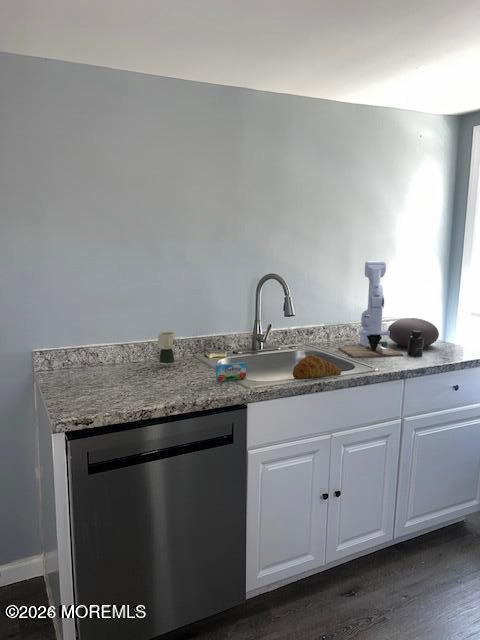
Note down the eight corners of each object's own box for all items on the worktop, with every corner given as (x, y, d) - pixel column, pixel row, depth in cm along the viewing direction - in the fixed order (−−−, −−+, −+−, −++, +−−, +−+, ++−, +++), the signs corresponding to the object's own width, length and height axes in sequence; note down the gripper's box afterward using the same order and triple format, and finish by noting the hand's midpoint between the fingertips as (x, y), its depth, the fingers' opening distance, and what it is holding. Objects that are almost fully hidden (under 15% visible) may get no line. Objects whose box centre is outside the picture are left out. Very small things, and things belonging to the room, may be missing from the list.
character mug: (177, 365, 196) (177, 335, 194) (160, 366, 194) (160, 336, 192) (172, 359, 206) (172, 330, 204) (156, 360, 204) (156, 331, 202)
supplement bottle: (420, 358, 217) (422, 333, 215) (405, 356, 221) (407, 331, 219) (424, 355, 222) (426, 330, 220) (409, 353, 226) (411, 329, 224)
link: (365, 346, 233) (365, 336, 232) (371, 346, 234) (372, 336, 233) (381, 354, 218) (382, 342, 217) (388, 353, 219) (389, 342, 218)
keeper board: (338, 349, 233) (338, 338, 232) (384, 347, 237) (385, 337, 237) (353, 357, 215) (354, 346, 215) (403, 356, 220) (404, 345, 219)
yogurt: (244, 377, 181) (244, 362, 180) (246, 378, 179) (246, 363, 178) (215, 380, 176) (215, 364, 175) (217, 381, 174) (217, 365, 173)
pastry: (300, 382, 176) (301, 361, 175) (283, 373, 188) (284, 354, 187) (345, 377, 184) (346, 357, 183) (326, 369, 196) (327, 350, 195)
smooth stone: (376, 343, 247) (378, 315, 245) (413, 340, 257) (415, 313, 255) (410, 354, 225) (412, 323, 222) (448, 350, 235) (451, 321, 232)
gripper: (364, 323, 211) (362, 353, 214) (393, 323, 214) (391, 352, 216) (357, 321, 218) (356, 349, 220) (386, 320, 221) (384, 348, 223)
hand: (373, 350), depth 219 cm, fingers closed
